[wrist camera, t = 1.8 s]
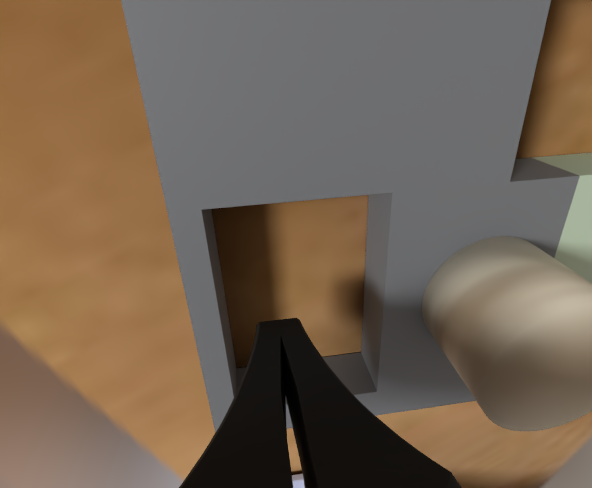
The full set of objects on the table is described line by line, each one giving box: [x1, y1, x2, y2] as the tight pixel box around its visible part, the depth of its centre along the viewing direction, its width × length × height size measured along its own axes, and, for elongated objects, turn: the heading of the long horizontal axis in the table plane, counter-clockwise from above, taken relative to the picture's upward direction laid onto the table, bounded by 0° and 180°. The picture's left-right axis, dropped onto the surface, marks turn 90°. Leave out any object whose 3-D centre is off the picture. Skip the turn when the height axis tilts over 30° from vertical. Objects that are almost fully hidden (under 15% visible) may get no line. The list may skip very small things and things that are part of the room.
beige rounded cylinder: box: [422, 236, 592, 431], centre depth 13 cm, size 5×5×4 cm
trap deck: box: [121, 0, 592, 432], centre depth 14 cm, size 17×20×4 cm
